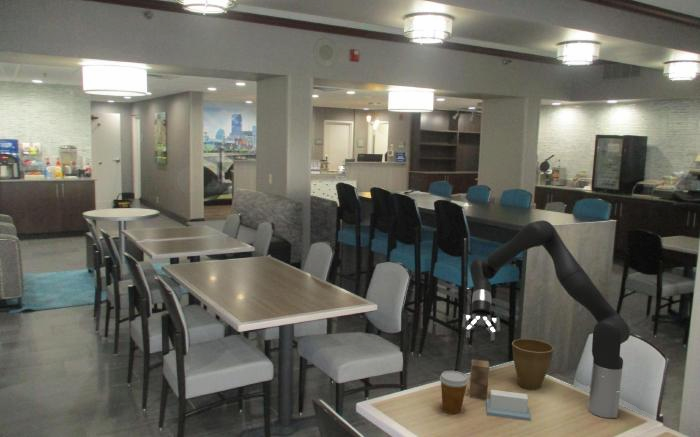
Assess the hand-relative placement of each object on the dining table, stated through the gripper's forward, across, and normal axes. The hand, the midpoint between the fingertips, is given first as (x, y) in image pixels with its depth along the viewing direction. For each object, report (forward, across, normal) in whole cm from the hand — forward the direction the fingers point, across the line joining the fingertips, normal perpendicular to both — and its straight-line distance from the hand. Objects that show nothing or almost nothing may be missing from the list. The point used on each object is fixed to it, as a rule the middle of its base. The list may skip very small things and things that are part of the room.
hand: (480, 341), depth 210 cm
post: (+20, 0, +3) cm, 20 cm away
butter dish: (+26, +10, -4) cm, 29 cm away
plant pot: (+10, +20, +14) cm, 26 cm away
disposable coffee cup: (+30, -9, -7) cm, 32 cm away
